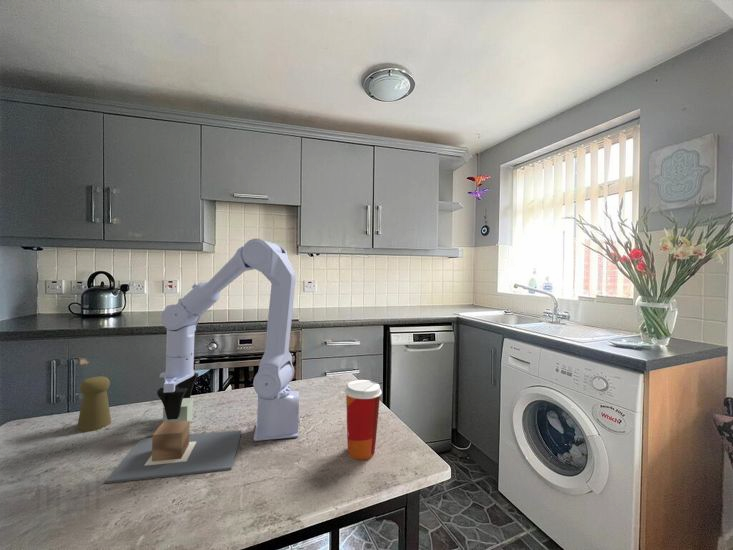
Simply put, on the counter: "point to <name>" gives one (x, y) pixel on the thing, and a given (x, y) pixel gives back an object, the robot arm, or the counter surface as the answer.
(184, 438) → the walnut block
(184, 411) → the sage block
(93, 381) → the cork
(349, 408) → the paper cup
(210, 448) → the mat
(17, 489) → the counter surface
